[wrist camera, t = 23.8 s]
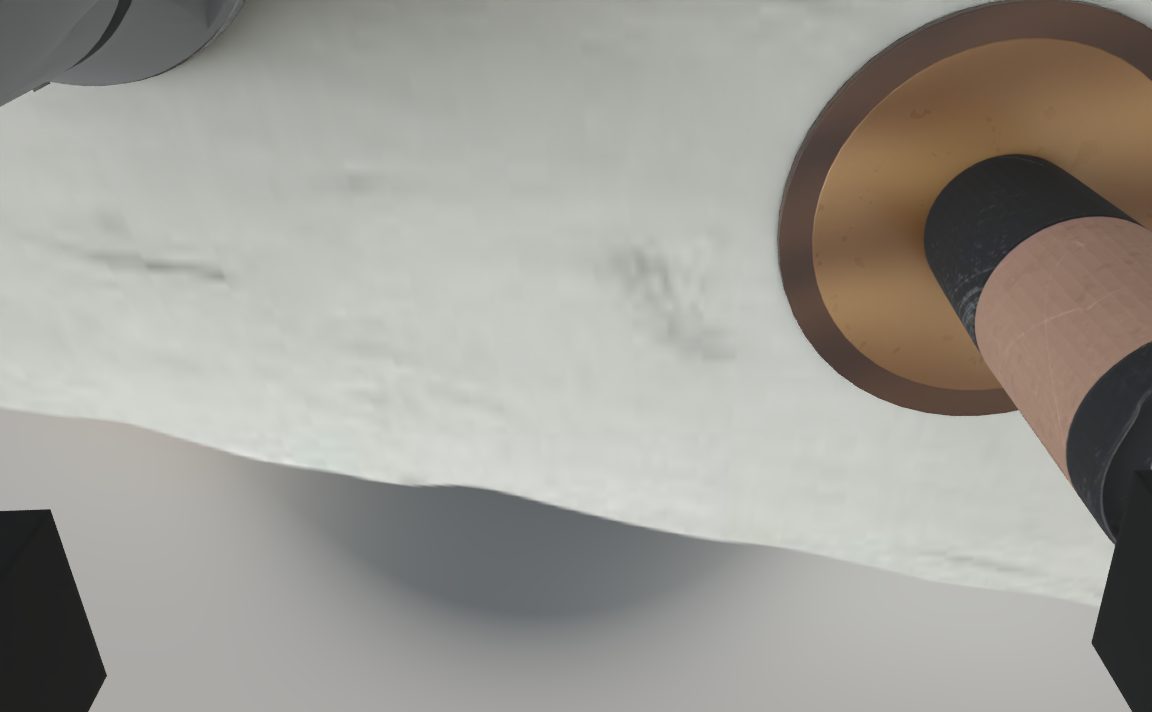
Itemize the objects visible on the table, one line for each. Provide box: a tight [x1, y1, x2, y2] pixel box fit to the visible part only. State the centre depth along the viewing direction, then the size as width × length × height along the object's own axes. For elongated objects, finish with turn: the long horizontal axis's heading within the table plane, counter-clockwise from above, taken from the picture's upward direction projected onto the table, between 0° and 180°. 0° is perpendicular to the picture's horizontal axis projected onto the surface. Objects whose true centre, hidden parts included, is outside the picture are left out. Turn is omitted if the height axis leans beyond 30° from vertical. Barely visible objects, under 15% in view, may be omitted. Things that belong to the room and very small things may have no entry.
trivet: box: [777, 0, 1152, 416], centre depth 49 cm, size 20×20×1 cm
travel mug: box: [924, 154, 1152, 545], centre depth 40 cm, size 8×8×20 cm
